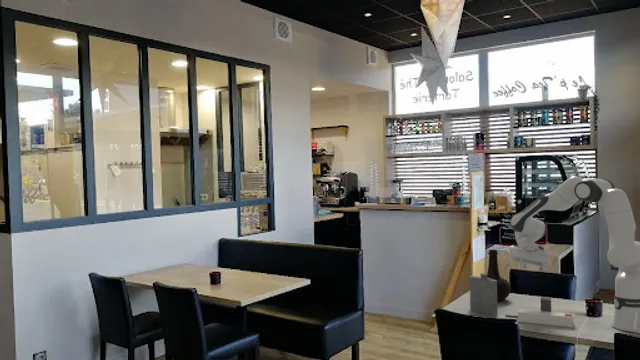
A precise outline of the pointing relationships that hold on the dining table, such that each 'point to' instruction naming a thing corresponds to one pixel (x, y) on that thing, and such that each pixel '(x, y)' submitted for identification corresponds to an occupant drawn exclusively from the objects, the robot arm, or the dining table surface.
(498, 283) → the glass bottle
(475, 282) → the hip flask
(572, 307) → the dining table surface
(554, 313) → the power strip
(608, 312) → the dining table surface
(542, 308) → the charger
